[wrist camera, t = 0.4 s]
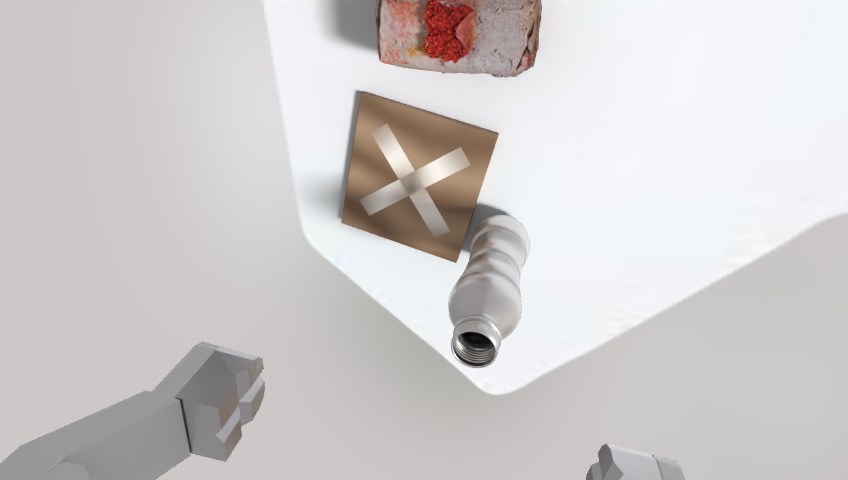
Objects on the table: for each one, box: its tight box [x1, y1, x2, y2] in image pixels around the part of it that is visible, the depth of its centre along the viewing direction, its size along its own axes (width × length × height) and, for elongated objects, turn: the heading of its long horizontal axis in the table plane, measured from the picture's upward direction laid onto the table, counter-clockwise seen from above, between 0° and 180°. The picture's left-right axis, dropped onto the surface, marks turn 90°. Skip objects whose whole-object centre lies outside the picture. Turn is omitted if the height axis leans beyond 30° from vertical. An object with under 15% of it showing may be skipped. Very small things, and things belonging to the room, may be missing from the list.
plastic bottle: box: [448, 215, 530, 368], centre depth 42 cm, size 6×7×20 cm
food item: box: [376, 0, 542, 77], centre depth 37 cm, size 14×8×10 cm, turn 88°
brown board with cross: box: [342, 92, 499, 263], centre depth 50 cm, size 16×15×1 cm
